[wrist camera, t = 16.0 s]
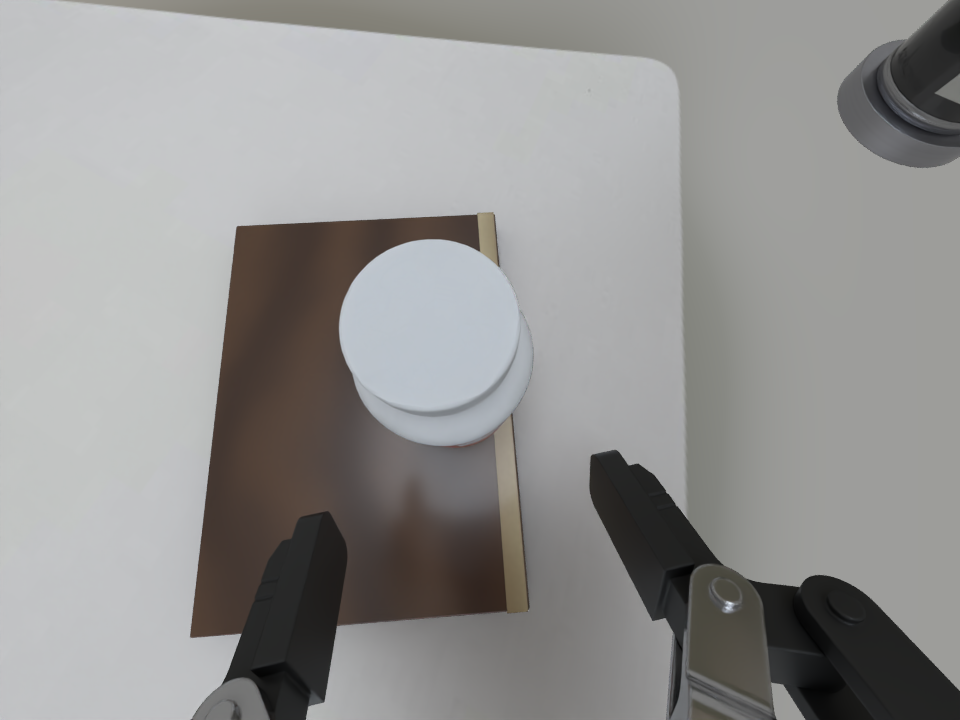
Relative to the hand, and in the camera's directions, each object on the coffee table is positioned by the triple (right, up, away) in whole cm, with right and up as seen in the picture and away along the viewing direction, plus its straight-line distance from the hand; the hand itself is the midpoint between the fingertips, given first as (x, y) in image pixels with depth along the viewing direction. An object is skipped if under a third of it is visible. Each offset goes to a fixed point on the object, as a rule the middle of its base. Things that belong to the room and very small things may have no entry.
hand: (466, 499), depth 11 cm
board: (-6, +2, +10) cm, 12 cm away
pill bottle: (-1, +3, +9) cm, 9 cm away
